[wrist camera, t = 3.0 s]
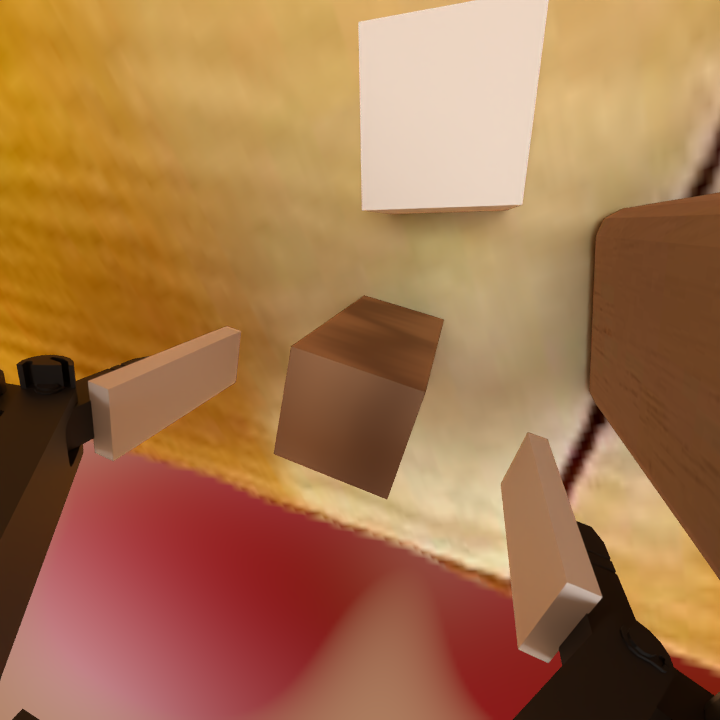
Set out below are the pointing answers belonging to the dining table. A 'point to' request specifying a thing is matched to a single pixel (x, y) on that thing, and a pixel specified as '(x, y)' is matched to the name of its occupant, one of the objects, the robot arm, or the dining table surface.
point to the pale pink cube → (449, 106)
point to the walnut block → (357, 392)
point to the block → (664, 352)
